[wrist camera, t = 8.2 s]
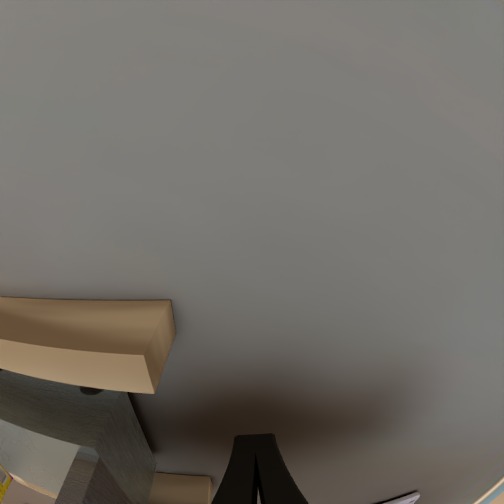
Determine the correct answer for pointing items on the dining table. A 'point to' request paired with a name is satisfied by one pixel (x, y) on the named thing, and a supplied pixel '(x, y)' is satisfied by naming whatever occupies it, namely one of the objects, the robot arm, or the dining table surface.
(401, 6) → the dining table surface
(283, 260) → the dining table surface
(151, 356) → the dock bay
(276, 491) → the robot arm
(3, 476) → the supplement bottle
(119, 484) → the grey stepped block
